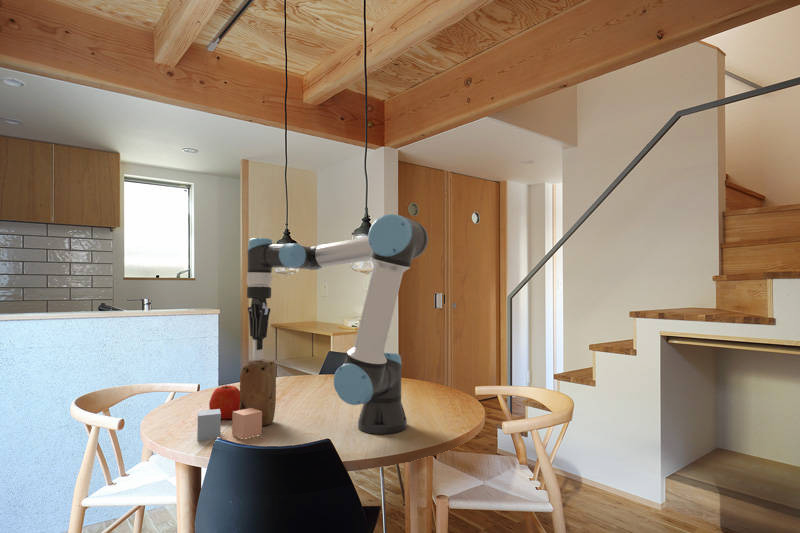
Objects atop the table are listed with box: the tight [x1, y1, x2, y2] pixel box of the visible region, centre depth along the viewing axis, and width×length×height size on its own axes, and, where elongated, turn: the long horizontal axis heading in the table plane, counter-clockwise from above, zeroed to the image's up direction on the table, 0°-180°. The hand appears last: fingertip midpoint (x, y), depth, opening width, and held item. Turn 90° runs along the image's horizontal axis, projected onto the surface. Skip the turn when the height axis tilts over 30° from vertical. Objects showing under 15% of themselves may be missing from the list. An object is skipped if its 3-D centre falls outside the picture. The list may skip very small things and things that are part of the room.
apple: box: [208, 385, 240, 420], centre depth 157 cm, size 11×11×11 cm
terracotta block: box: [231, 408, 263, 439], centre depth 137 cm, size 6×6×7 cm
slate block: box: [196, 409, 222, 442], centre depth 136 cm, size 6×6×7 cm
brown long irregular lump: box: [239, 358, 277, 427], centre depth 149 cm, size 11×8×20 cm
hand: (257, 359), depth 150 cm, fingers closed
